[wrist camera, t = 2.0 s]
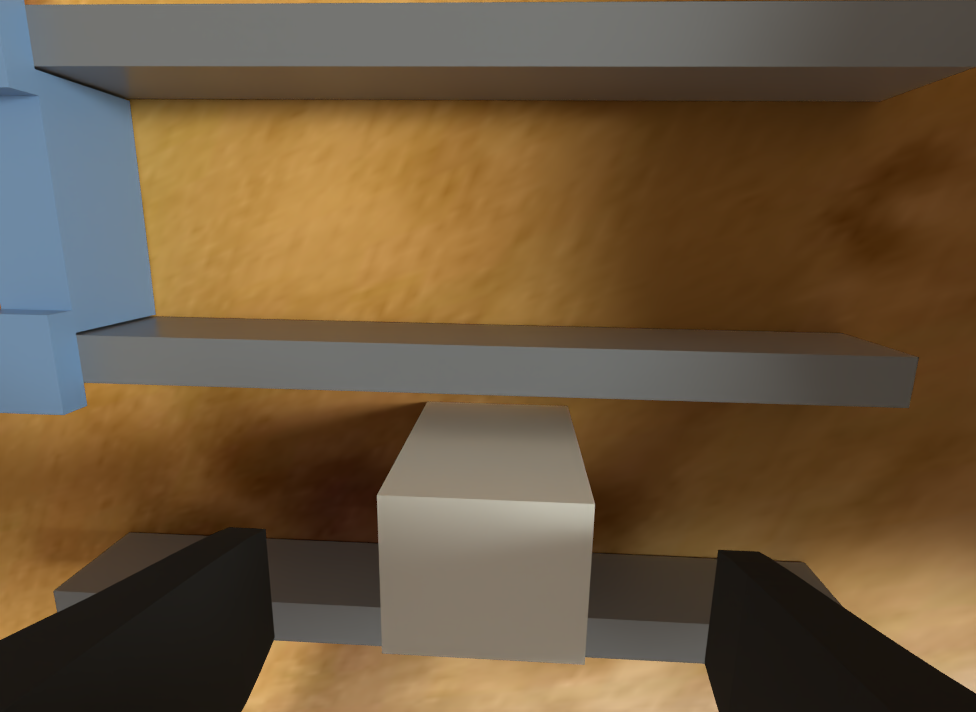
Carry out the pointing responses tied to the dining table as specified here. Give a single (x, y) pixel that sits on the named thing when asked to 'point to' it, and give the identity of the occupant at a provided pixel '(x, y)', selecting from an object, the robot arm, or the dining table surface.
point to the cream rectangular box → (487, 536)
